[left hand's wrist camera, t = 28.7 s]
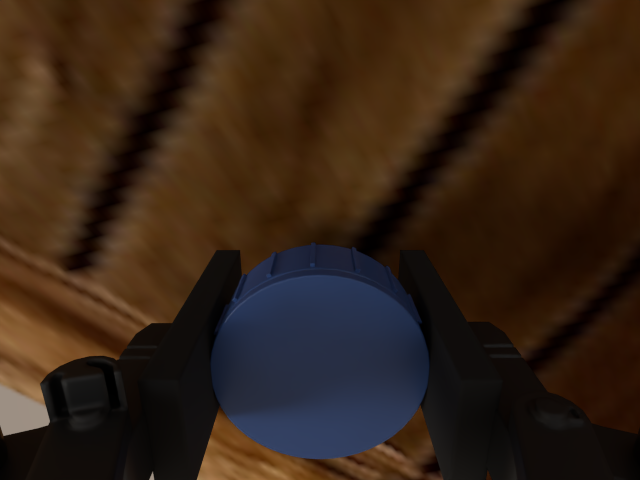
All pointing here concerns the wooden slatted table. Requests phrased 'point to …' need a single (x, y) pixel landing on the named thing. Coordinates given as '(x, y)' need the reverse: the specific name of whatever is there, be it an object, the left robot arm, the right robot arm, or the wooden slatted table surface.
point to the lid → (320, 353)
